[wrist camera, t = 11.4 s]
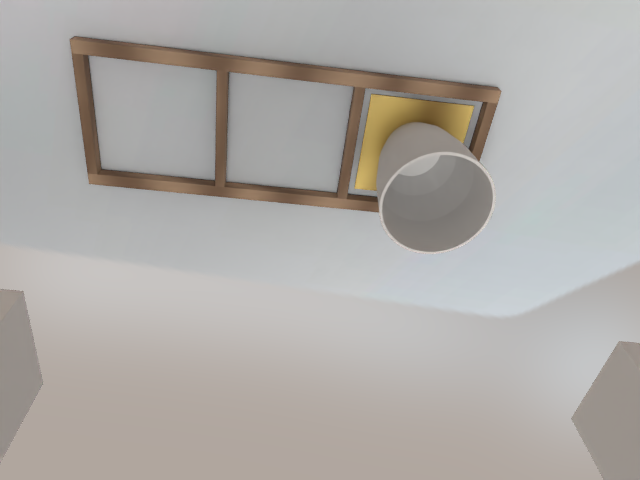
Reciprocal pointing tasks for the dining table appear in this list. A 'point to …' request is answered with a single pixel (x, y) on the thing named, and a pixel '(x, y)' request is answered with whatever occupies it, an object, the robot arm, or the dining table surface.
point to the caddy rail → (382, 109)
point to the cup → (431, 190)
